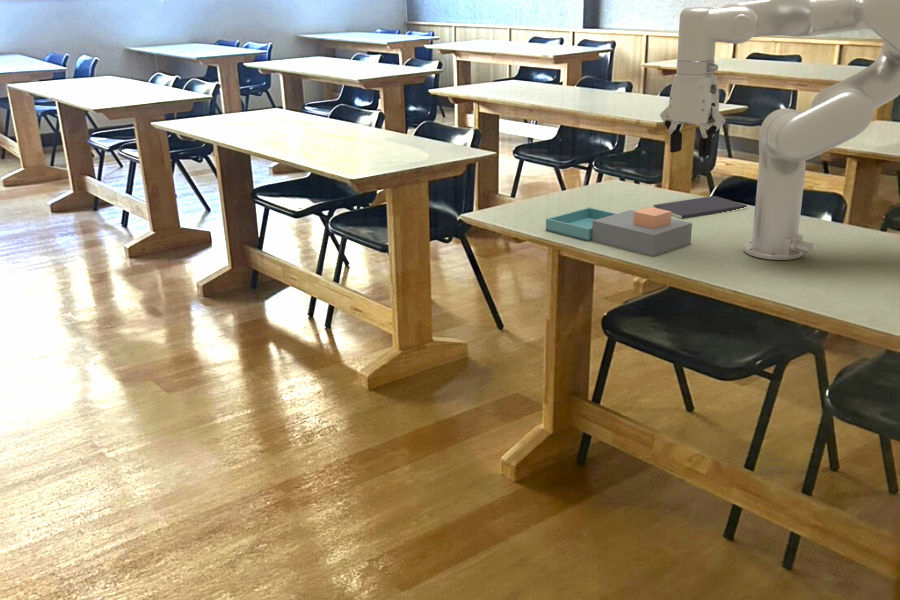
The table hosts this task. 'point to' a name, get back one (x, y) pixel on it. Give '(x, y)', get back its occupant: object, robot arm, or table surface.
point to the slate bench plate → (640, 234)
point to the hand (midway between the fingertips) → (689, 152)
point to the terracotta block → (652, 217)
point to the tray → (576, 223)
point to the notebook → (699, 207)
